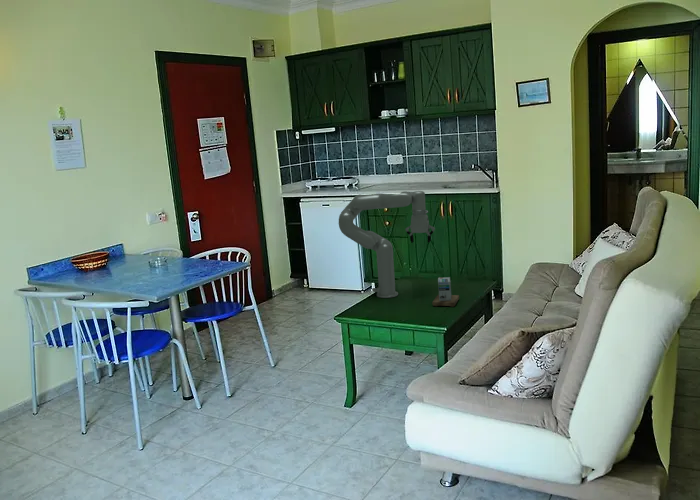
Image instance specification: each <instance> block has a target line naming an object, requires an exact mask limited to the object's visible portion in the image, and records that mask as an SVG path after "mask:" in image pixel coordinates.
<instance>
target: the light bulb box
mask: <svg viewBox="0 0 700 500" xmlns="http://www.w3.org/2000/svg"><path fill="white" fill-rule="evenodd" d="M451 283H452V282H451V277H450V276H448V277H446V276H445V277H438V278H437V284H438V285H437V286H438V287H437V288H438V295H439V301H451V295H452V284H451Z"/></svg>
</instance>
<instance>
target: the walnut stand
mask: <svg viewBox="0 0 700 500" xmlns="http://www.w3.org/2000/svg"><path fill="white" fill-rule="evenodd" d="M459 300H460V295H459V294H454V295H453V294H451V301H439V294H437V296H435V298H434V299H433V301H432V303H431V305H432V306H433V307H438V306H439V307H440V306H441V307H442V306H443V307H446V306H447V307H450V308H451V307H452V308H455V306H456V305H457V303H458V301H459Z"/></svg>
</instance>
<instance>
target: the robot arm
mask: <svg viewBox="0 0 700 500" xmlns="http://www.w3.org/2000/svg"><path fill="white" fill-rule="evenodd" d="M410 205H411V206H412V207H411V209H412V211H411V212H412V215H411V218H410V225H409V226H407V227H406V228H404V230H405V232H406V234H407V235H408V236H409V240H410V242H411V243H412V244H413V243H414V241H415V240H414V234H422V233H426V235H427V243H428V244H429V243H430V242H431V241H432V237H431V236H432V234H433V233H434V232H435V230H436V227H435V226H432V225H430V223H429V222H430V221H429V216H428V213H429V210H427V208H426V192H425V191H423V190H415V191H401V192H400V193H395V194H387V193H373V194H357V195H355V196H354V197H353V198H352V199H351V200H350V202H349V203H347V205H346V207H344V208H343V210H342V211H341V212H340V214H339V216H338V227H339V230H340V231H341V234H343V236H345V237H347V238H348V239H350V240H351V241H353V242H355V243H357V244H358V245H360V246H362V248H365V249H368V250H372V251H374V252H376V253H375V254H376V263H377V264H376V266H377V279H378V280H377V281H378V287H377V288H376V287H374V288H373V287H372V290H371V291H372V292H373V293H376V297H377V298H382V299H389V298H390V299H391V298H396V297H397V296H399V292H398V291H396V280H395V278H396V277H395V265H394V264H395V263H394V247H393V243H392V242H391V241H390V240H388V239H387V238H385V237H383V236H381V235H379V234H378V233H376V232H374V231H372V230H365V229H363V228H362V227H360V226H358V225H356V224H355V223H354V220H355V219H356V217H358V215H360V213H361V212H362V211H368V210H376V209H378V210H379V209H390V208H391V209H392V208H393V209H394V208H405V207H408V206H410ZM409 229H410V231H409ZM430 229H431V231H430Z"/></svg>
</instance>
